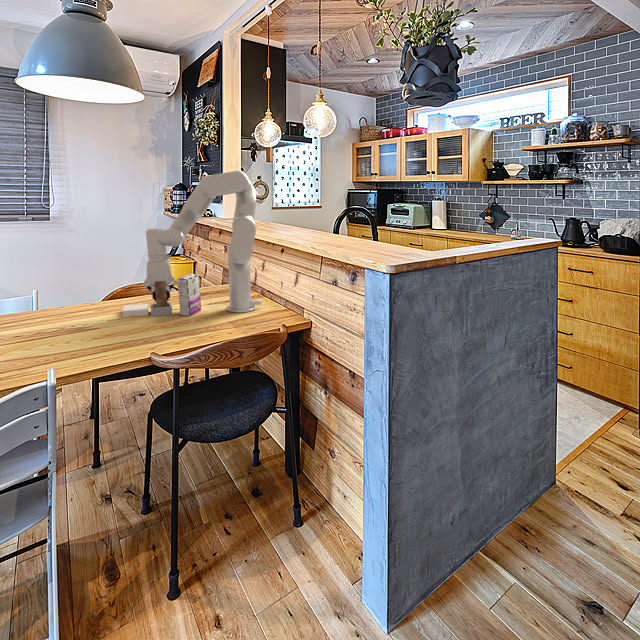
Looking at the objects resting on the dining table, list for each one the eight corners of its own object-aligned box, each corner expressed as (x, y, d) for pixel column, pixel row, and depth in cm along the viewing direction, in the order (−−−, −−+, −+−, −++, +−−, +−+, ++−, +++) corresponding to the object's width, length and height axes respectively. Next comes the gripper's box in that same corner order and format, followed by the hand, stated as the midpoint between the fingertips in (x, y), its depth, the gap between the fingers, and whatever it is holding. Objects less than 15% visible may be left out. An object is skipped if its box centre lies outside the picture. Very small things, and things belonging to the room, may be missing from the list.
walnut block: (167, 310, 207) (165, 279, 203) (168, 312, 203) (165, 281, 199) (157, 310, 205) (154, 279, 201) (157, 313, 201) (154, 281, 197)
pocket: (171, 309, 209) (171, 302, 208) (172, 314, 201) (171, 307, 200) (151, 311, 206) (150, 303, 206) (151, 316, 199) (150, 308, 198)
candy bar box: (191, 309, 211) (189, 273, 206) (201, 310, 210) (199, 274, 205) (179, 315, 200) (176, 278, 196) (190, 316, 199) (187, 278, 195)
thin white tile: (148, 309, 209) (148, 304, 209) (148, 315, 200) (147, 309, 200) (124, 310, 206) (123, 305, 206) (123, 316, 197) (122, 311, 196)
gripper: (178, 256, 203) (181, 296, 209) (136, 257, 198) (141, 299, 203) (179, 258, 197) (182, 300, 202) (136, 260, 191) (140, 303, 196)
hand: (161, 299), depth 202 cm, fingers closed on walnut block, 4 cm apart
